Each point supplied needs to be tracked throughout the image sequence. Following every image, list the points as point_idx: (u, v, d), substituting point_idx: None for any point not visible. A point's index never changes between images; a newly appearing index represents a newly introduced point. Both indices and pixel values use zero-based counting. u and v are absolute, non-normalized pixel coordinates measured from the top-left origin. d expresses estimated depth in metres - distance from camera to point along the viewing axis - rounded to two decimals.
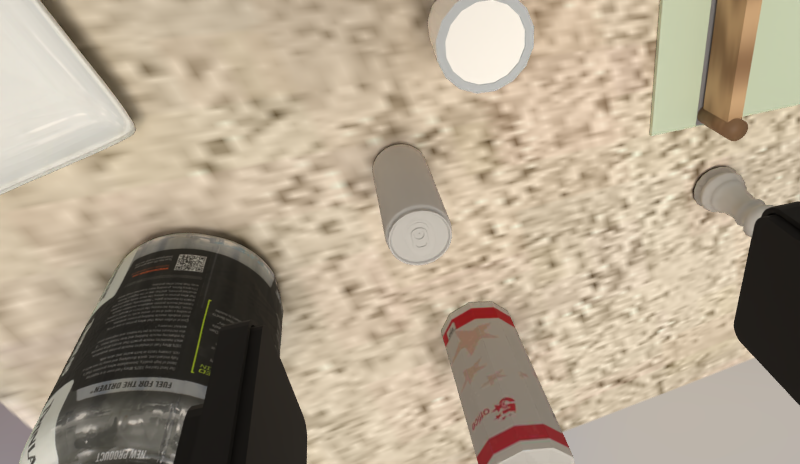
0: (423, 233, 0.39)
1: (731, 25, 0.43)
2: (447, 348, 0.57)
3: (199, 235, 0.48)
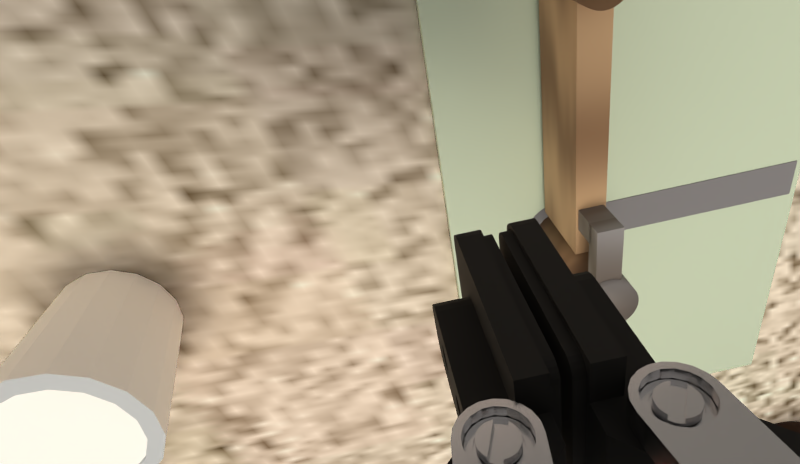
0: None
1: None
2: None
3: None
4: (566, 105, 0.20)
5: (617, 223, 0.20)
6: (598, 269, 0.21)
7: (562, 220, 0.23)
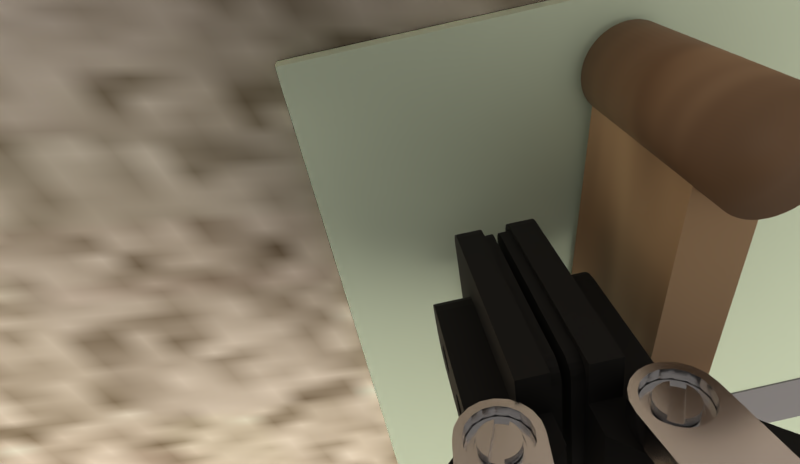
0: None
1: None
2: None
3: None
4: None
5: None
6: None
7: None
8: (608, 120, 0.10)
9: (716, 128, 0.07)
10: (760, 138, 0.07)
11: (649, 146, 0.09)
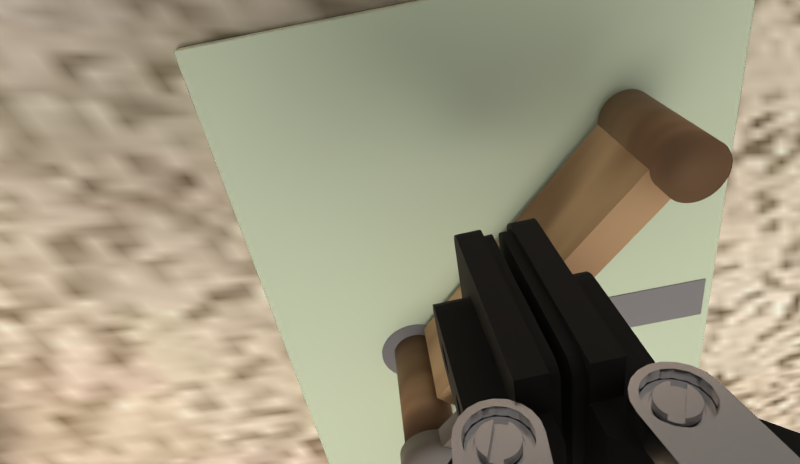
0: None
1: None
2: None
3: None
4: None
5: None
6: None
7: None
8: (606, 133, 0.17)
9: (683, 140, 0.14)
10: (697, 155, 0.14)
11: (634, 146, 0.15)
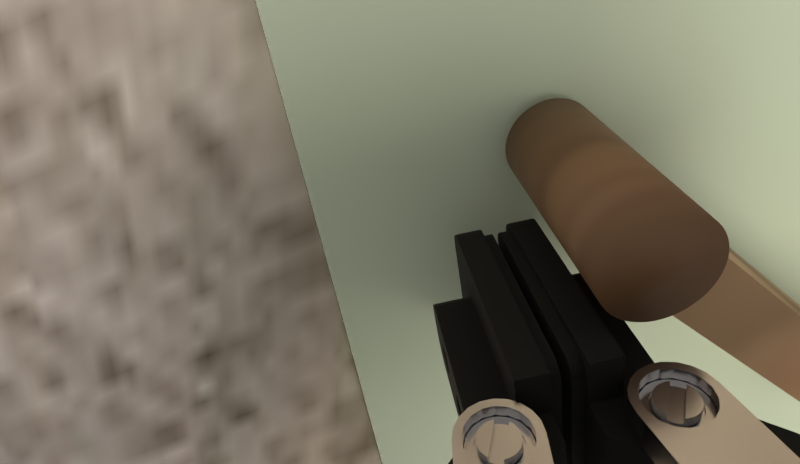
0: None
1: None
2: None
3: None
4: None
5: None
6: None
7: None
8: None
9: (590, 288, 0.08)
10: (627, 278, 0.07)
11: None
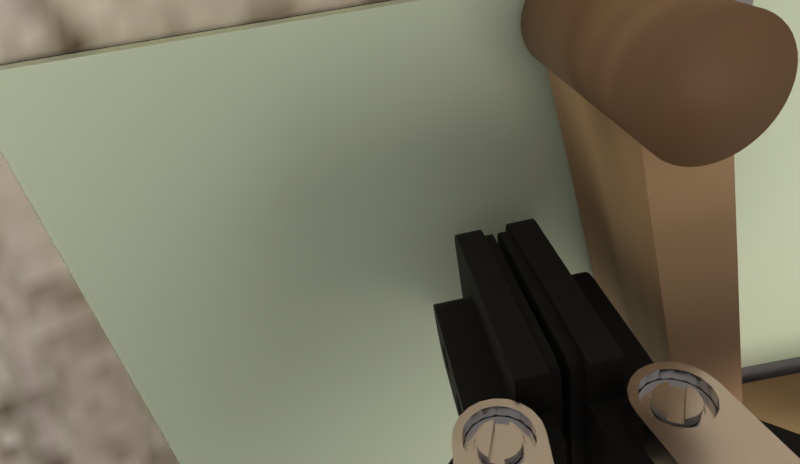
0: None
1: None
2: None
3: None
4: (640, 299, 0.10)
5: None
6: None
7: None
8: (561, 78, 0.09)
9: (631, 81, 0.06)
10: (683, 80, 0.06)
11: (592, 104, 0.08)
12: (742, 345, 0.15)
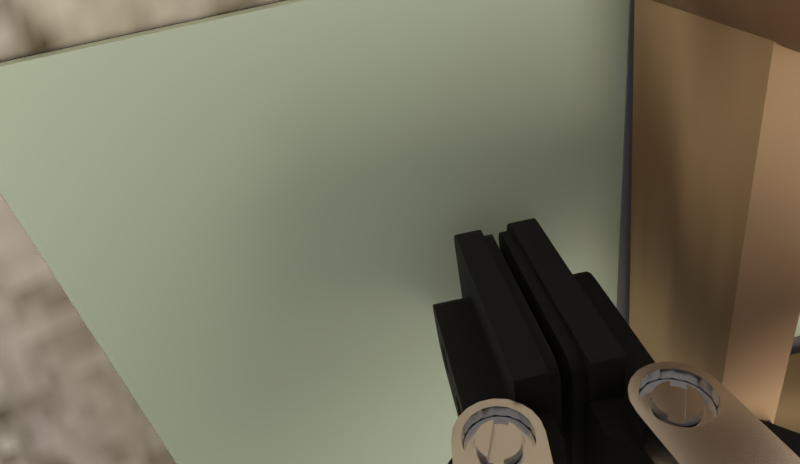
0: None
1: None
2: None
3: None
4: (705, 246, 0.09)
5: None
6: None
7: None
8: (656, 3, 0.09)
9: None
10: None
11: (713, 11, 0.07)
12: None
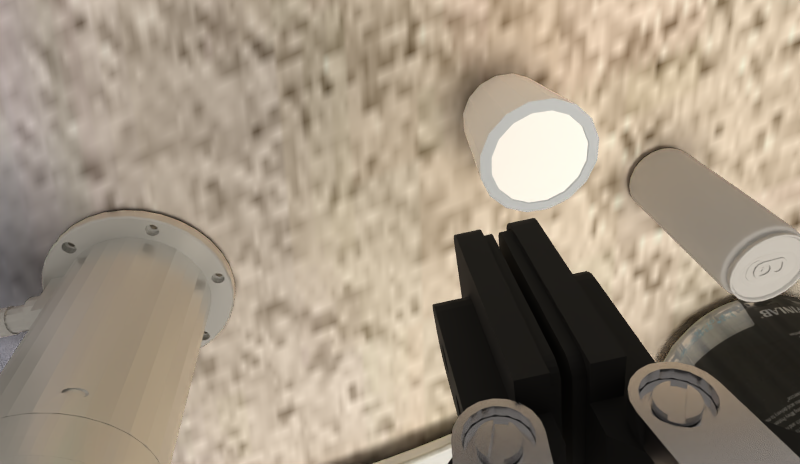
0: (763, 265, 0.30)
1: None
2: None
3: (668, 361, 0.49)
4: None
5: None
6: None
7: None
8: None
9: None
10: None
11: None
12: None
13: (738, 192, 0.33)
